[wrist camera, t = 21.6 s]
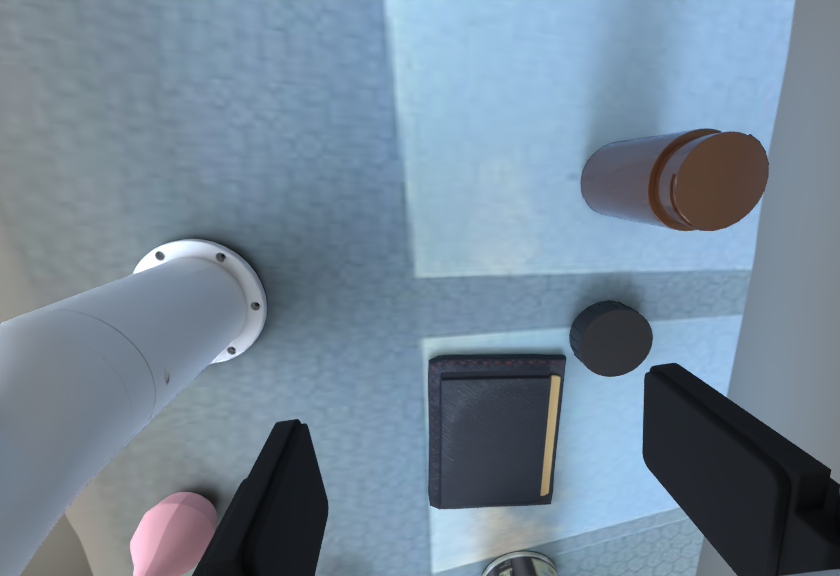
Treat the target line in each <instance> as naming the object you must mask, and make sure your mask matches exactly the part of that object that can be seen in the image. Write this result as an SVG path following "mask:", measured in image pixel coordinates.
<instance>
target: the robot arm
mask: <svg viewBox="0 0 840 576" xmlns="http://www.w3.org/2000/svg"><path fill="white" fill-rule="evenodd" d="M163 253H164V254H163ZM223 254H224V255H225V257H226V258H224V257H223ZM164 255H165V256H164ZM256 302H258V303H259V305H257V303H256ZM266 314H267V302H266V295H265V292H264V289H263V286H262V283H261V281H260V280H259V278H258V276H257V274H256V273H255V271H254V270H253V269H252V268H251V266H250V265H249V264H248V263H247V262H246V261H245V260H244V259H243V258H241V257H240V256H239V255H238V254H237V253H235V252H233V251H232V250H230V249H228V248H227V247H225V246H222V245H220V244H217V243H215V242H211V241H207V240H202V239H183V240H177V241H172V242H169V243H166V244H163V245H161V246H159V247H157V248H155V249H153V250H152V251H150V252H149V253H148V254H147V255H146V256H144V257H143V258H142V260H141V261H140V262H139V264H138V265H137V266H136V268H135V271H134V273H133V274H132V275H129V276H127V277H124V278H121V279H118V280H116V281H113V282H110V283H108V284H105V285H102V286H99V287H97V288H94V289H91V290H88V291H86V292H83V293H80V294H78V295H75V296H72V297H69V298H67V299H64V300H61V301H59V302H56V303H53V304H50V305H48V306H45V307H42V308H40V309H37V310H34V311H31V312H29V313H26V314H23V315H20V316H18V317H15V318H12V319H10V320H7V321H5V322H2V323H0V576H19V575H20V574H21V573H22V571H23V570H24V568H25V567H26V566H27V564H28V562H29V561H30V560H31V558H32V557H33V555H34V554H35V552H36V551H37V550H38V548H39V547H40V545H41V544H42V543H43V541H44V540H45V538H46V537H47V535H48V534H49V532H50V531H51V530H52V528H53V527H54V526H55V524H56V523H57V521H58V520H59V519H60V518H61V516H62V515H63V514H64V512H65V511H66V510H67V508H68V507H69V506H70V505H71V504H72V502H73V501H74V500H75V499H76V498H77V496H78V495H79V494H80V493H81V492H82V491H83V490H84V488H85V487H86V486H87V485H88V484H89V483H90V482H91V481H92V480H93V479H94V477H95V476H96V475H97V474H98V473H99V472H100V471H101V470H102V469H103V468H104V467H105V466H106V465H107V464H108V463H109V462H110V461H111V460H112V459H113V458H114V457H115V456H116V455H117V454H118V453H119V452H120V451H121V450H122V449H123V448H124V447H125V446H126V445H127V444H128V443H129V442H130V441H131V440H132V439H133V438H134V437H135V436H136V435H137V434H138V433H139V432H140V431H141V430H142V429H143V428H144V427H145V426H146V425H147V424H148V423H149V422H150V421H152V420H153V419H154V418H155V417H156V416H157V415H158V414H159V413H160V412H161V411H162V410H163V409H164V408H165V407H166V406H167V405H168V404H169V403H170V402H171V401H172V400H173V399H174V398H175V397H176V396H177V395H178V394H179V393H180V392H181V391H182V390H183V389H184V388H185V387H186V386H187V385H188V384H189V383H190V382H192V381H193V380H194V379H195V378H196V377H197V376H198V375H199V374H200V373H201V372H202V371H203V370H204V369H205V368H206V367H207V366H208V365H209V364H213V363H219V362H224V361H227V360H230V359H232V358H235V357H237V356H238V355H240V354H241V353H243V352H244V351H246V350H247V349H248V348H249V347H250V346H251V345H252V344H253V343H254V341H255V340H256V339H257V338H258V336H259V335H260V333H261V331H262V329H263V327H264V323H265V320H266ZM643 459H644V461H645V464H646V466H647V467H648V469H649V470H650V471H651V472H652V473H653V475H654V476H655V477H656V478H657V479H658V481H659V482H660V483H661V484H662V485H663V487H664V488H665V489H666V490H667V491H668V493H669V494H670V495H671V496H672V497H673V499H674V500H675V501H676V502H677V503H678V505H679V506H680V507H681V508H682V509H683V511H684V512H685V513H686V514H687V515H688V517H689V518H690V519H691V520H692V521H693V523H694V524H695V525H696V526H697V527H698V529H699V530H700V531H701V532H702V534H703V535H704V536H705V537H706V538H707V539H708V541H709V542H710V543H711V544H712V546H713V547H714V548H715V549H716V550H717V551H718V553H719V554H720V555H721V556H722V558H723V559H724V560H725V561H726V562H727V564H728V565H729V566H730V567H731V568H732V570H733V571H734V572H735V573H736V574H737V575H738V576H840V484H838V483H837V482H835V481H834V480H833V479H831V478H830V474H831V469H829V468H828V467H826V466H825V465H823V464H822V463H821V462H819V461H818V460H816V459H815V458H813V457H812V456H811V455H809V454H808V453H806V452H805V451H803V450H802V449H800V448H799V447H798V446H796V445H795V444H793V443H792V442H790V441H789V440H787V439H786V438H784V437H783V436H781V435H780V434H779V433H777V432H776V431H774V430H773V429H771V428H770V427H769V426H767V425H766V424H764V423H763V422H761V421H760V420H758V419H757V418H755V417H754V416H753V415H751V414H750V413H748V412H747V411H745V410H744V409H742V408H741V407H740V406H738V405H737V404H735V403H734V402H732V401H731V400H729V399H728V398H727V397H725V396H724V395H722V394H721V393H719V392H718V391H716V390H715V389H714V388H712V387H711V386H709V385H708V384H706V383H705V382H703V381H702V380H701V379H699V378H698V377H696V376H695V375H693V374H692V373H690V372H689V371H687V370H686V369H685V368H683V367H682V366H680V365H679V364H677V363H669V364H662V365H656V366H652V367H651V369H650V372H647V373H646V374H645V378H644V415H643ZM327 517H328V500H327V496H326V492H325V488H324V485H323V481H322V477H321V473H320V470H319V466H318V462H317V458H316V455H315V451H314V447H313V444H312V440H311V436H310V432H309V429H308V426H307V424H301V422H300V421H299V420H298V419H294V420H288V421H281V422H277V423H276V424H275V425H274V427H273V429H272V431H271V433H270V435H269V437H268V439H267V441H266V443H265V445H264V447H263V449H262V451H261V452H260V454H259V456H258V458H257V460H256V462H255V464H254V466H253V468H252V470H251V472H250V474H249V476H248V478H246V479H244V480H243V481H242V483H241V484H240V486H239V488H238V490H237V491H236V493H235V495H234V497H233V499H232V501H231V503H230V505H229V507H228V509H227V510H226V512H225V514H224V516H223V518H222V520H221V522H220V524H219V526H218V527H217V529H216V531H215V533H214V535H213V537H212V539H211V541H210V543H209V545H208V546H207V548H206V550H205V552H204V554H203V556H202V558H201V560H200V562H199V563H198V565H197V567H196V569H195V571H194V573H193V575H192V576H315V571H316V567H317V562H318V558H319V553H320V549H321V544H322V540H323V535H324V531H325V526H326V522H327Z"/></svg>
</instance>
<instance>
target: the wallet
mask: <svg viewBox="0 0 840 576" xmlns="http://www.w3.org/2000/svg"><path fill="white" fill-rule="evenodd" d="M565 364H566V356H565V355H537V354H513V355H449V356H438V357H435V358H433V359H431V360H429V370H428V399H429V486H428V492H429V500H430V505H431V506H433V507H435V508H437V509H462V508H479V507H500V506H527V505H545V504H551V499H552V493H553V482H554V468H555V459H556V449H557V440H558V430H559V421H560V411H561V402H562V392H563V383H564V374H565Z"/></svg>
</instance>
